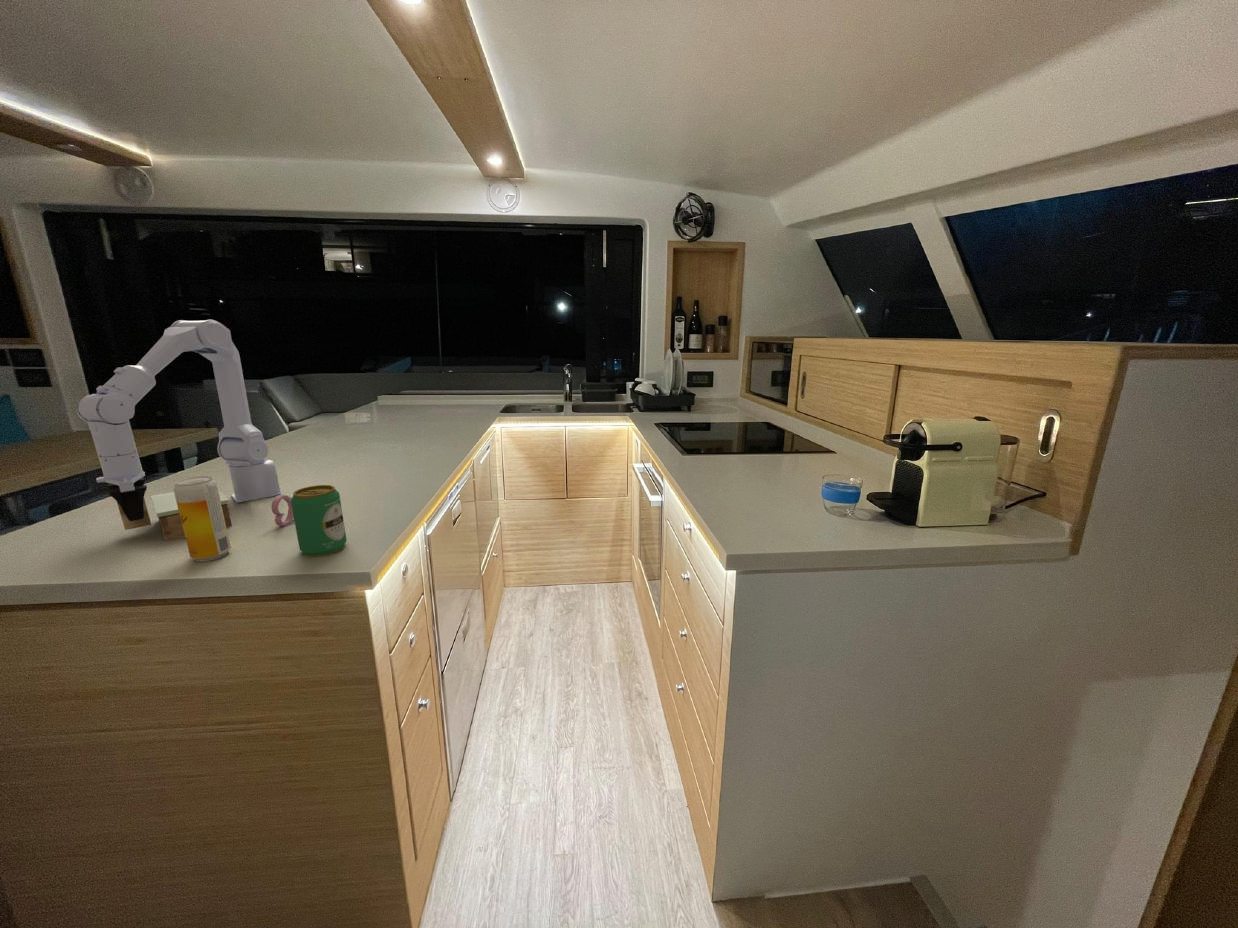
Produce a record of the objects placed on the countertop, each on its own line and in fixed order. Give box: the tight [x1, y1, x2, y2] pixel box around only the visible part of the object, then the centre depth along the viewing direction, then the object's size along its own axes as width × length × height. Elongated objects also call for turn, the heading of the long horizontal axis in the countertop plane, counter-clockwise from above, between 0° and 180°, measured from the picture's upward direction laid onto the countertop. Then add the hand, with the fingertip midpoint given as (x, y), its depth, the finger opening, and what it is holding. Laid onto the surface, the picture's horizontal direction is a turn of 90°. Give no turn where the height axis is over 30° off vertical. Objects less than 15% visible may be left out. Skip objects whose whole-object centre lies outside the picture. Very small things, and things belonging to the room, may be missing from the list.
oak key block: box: [116, 498, 152, 531], centre depth 104 cm, size 4×4×7 cm
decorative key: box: [270, 494, 294, 527], centre depth 117 cm, size 7×1×20 cm
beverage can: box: [291, 484, 348, 558], centre depth 96 cm, size 8×8×12 cm
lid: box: [150, 485, 229, 518], centre depth 109 cm, size 12×16×4 cm
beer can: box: [173, 475, 232, 562], centre depth 93 cm, size 6×6×15 cm
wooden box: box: [157, 504, 233, 541], centre depth 111 cm, size 11×16×5 cm
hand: (135, 516), depth 104 cm, fingers closed on oak key block, 4 cm apart
